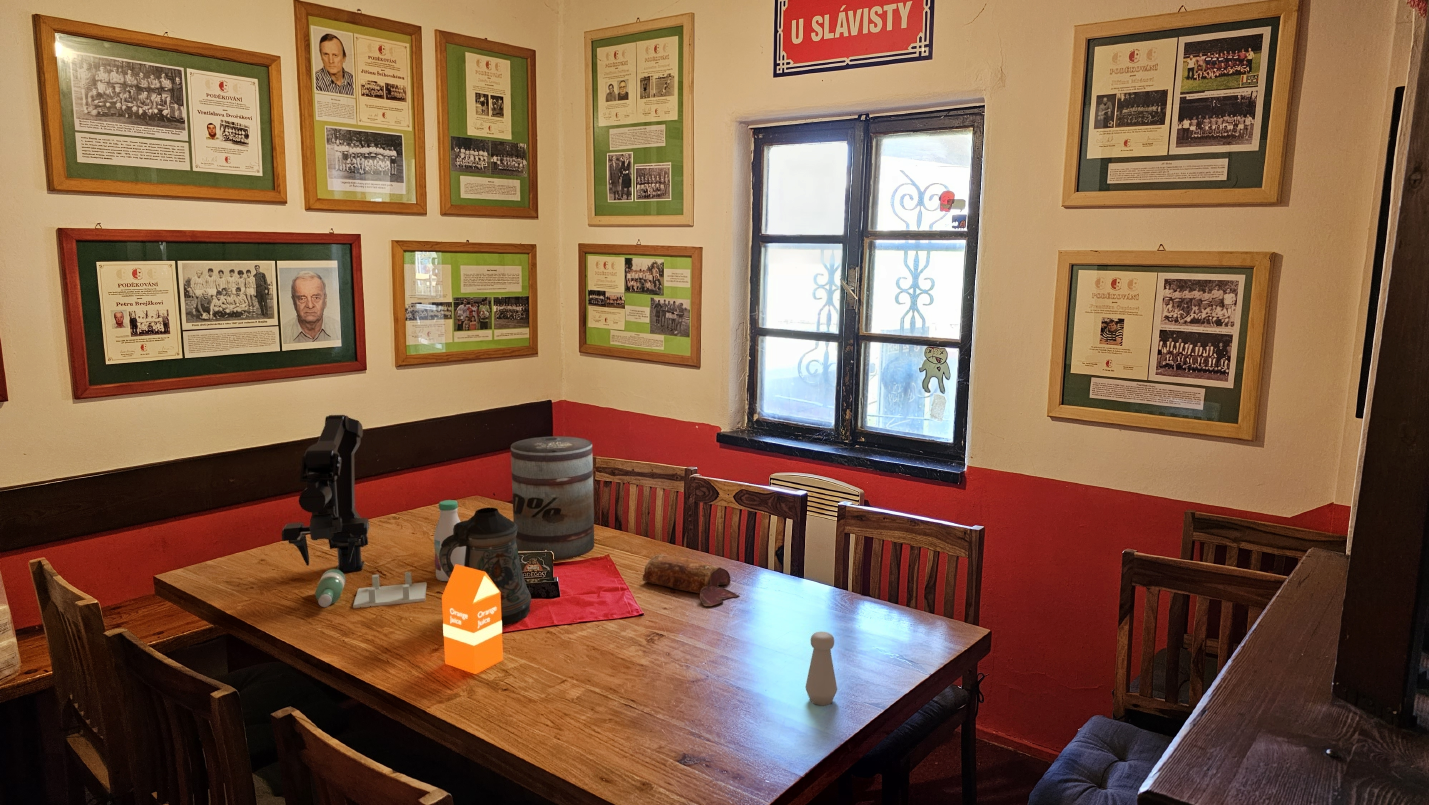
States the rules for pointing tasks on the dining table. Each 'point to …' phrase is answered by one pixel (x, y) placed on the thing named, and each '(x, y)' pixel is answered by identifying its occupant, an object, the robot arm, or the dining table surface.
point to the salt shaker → (821, 670)
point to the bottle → (330, 587)
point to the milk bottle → (443, 531)
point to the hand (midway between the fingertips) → (328, 563)
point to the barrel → (553, 495)
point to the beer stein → (491, 558)
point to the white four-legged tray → (390, 593)
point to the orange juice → (471, 620)
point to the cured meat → (689, 577)
